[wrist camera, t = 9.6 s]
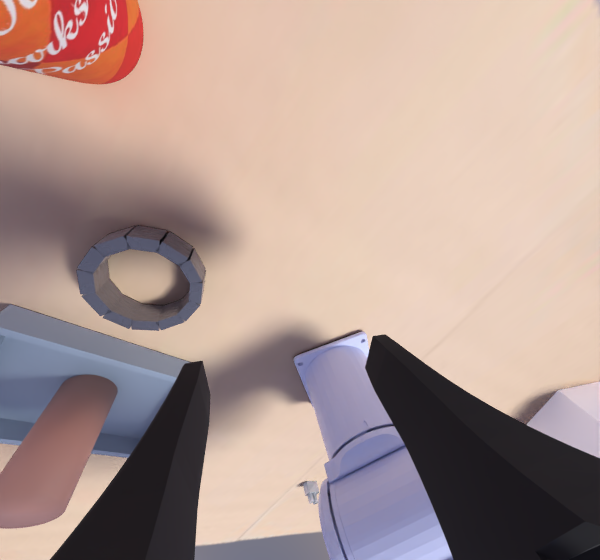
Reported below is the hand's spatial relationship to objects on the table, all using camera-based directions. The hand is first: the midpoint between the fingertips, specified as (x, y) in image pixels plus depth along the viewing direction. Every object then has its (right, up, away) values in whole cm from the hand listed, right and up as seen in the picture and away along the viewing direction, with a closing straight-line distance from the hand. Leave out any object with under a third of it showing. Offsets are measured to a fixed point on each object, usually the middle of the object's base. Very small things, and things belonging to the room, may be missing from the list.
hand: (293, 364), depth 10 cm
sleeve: (-10, +4, +7) cm, 13 cm away
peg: (-18, -6, +10) cm, 21 cm away
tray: (-18, -6, +11) cm, 22 cm away
